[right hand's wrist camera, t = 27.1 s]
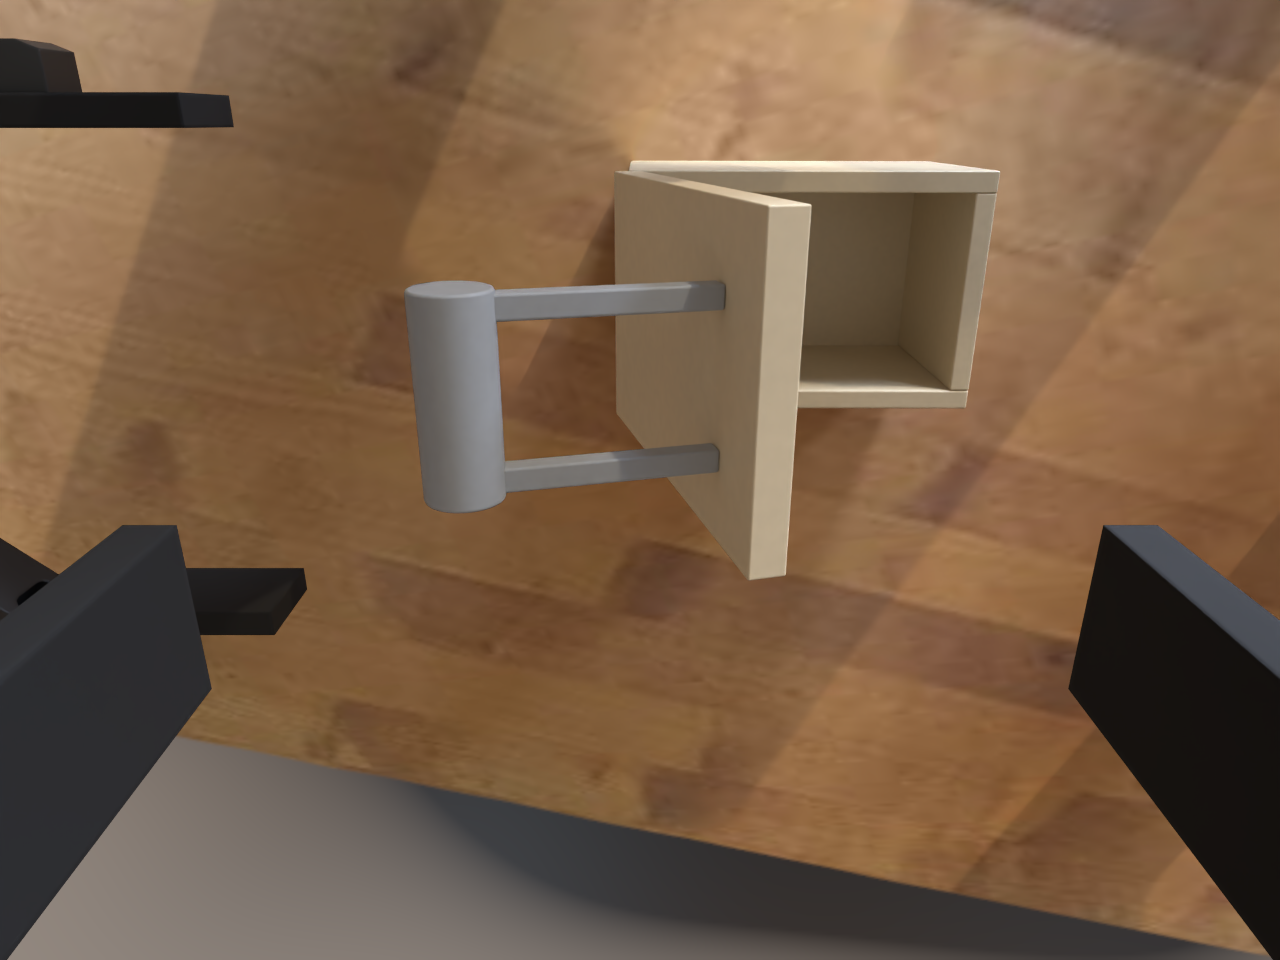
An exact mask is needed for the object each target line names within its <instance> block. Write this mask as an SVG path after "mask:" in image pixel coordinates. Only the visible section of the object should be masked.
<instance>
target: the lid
mask: <svg viewBox="0 0 1280 960" xmlns="http://www.w3.org/2000/svg"><path fill="white" fill-rule="evenodd" d="M614 205H615V285H595V286H571V287H548V288H525V289H501V290H495V289H494V287H493V286H492V285H489V284H486V283H482V282H475V281H437V282H428V283H421V284H417V285H413V286H410V287H408V288H406V289H405V292H404V298H405V309H406V319H407V329H408V340H409V350H410V360H411V371H412V381H413V391H414V402H415V412H416V422H417V432H418V443H419V453H420V463H421V474H422V484H423V494H424V501H425V502H426V504H427V505H428V506H429V507H430V508H432V509H434V510H437V511H441V512H447V513H471V512H477V511H482V510H486V509H489V508H492V507H494V506H496V505H498V504H500V503H501V502H502V501H503V500H504V499H505V497H506V494H507V493H509V492H520V491H530V490H540V489H551V488H561V487H571V486H582V485H592V484H602V483H612V482H623V481H633V480H643V479H654V478H664V477H667V478H668V480H669V481H670V482H671V483H672V485H673V486H674V487H675V488H676V490H677V491H678V492H679V493H680V495H681V496H682V497H683V499H684V500H685V501H686V502H687V504H688V505H689V506H690V507H691V509H692V510H693V511H694V513H695V514H696V515H697V516H698V518H699V519H700V520H701V521H702V523H703V524H704V525H705V527H706V528H707V529H708V530H709V532H710V533H711V534H712V535H713V537H714V538H715V539H716V540H717V542H718V543H719V544H720V546H721V547H722V548H723V549H724V551H725V552H726V553H727V554H728V556H729V557H730V558H731V560H732V561H733V562H734V563H735V565H736V566H737V567H738V568H739V570H740V571H741V572H742V574H743V575H744V576H745V577H746V579H747V580H757V579H765V578H773V577H781V576H785V574H786V561H787V546H788V532H789V518H790V504H791V490H792V476H793V462H794V447H795V433H796V419H797V405H798V391H799V377H800V363H801V348H802V334H803V320H804V306H805V292H806V278H807V264H808V249H809V235H810V221H811V205H810V204H807V203H802V202H797V201H792V200H787V199H782V198H776V197H771V196H766V195H761V194H756V193H751V192H746V191H741V190H735V189H730V188H725V187H720V186H715V185H710V184H705V183H700V182H694V181H689V180H684V179H679V178H674V177H669V176H664V175H659V174H654V173H648V172H643V171H615V172H614ZM601 316H615V320H616V413H617V415H618V416H619V417H620V419H621V420H622V421H623V422H624V424H625V425H626V426H627V427H628V429H629V430H630V431H631V432H632V434H633V435H634V436H635V438H636V439H637V440H638V441H639V443H640V444H641V445H642V446H643V448H644V449H638V450H626V451H615V452H604V453H593V454H581V455H570V456H559V457H548V458H536V459H525V460H514V461H505V454H504V438H503V421H502V404H501V387H500V370H499V353H498V336H497V322H504V321H523V320H543V319H562V318H581V317H601Z"/></svg>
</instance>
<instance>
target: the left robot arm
mask: <svg viewBox="0 0 1280 960" xmlns="http://www.w3.org/2000/svg"><path fill="white" fill-rule="evenodd" d="M206 127H234V126H233V119H232V113H231V107H230V100H229V96H226V95H210V94H195V93H179V92H82V89H81V84H80V79H79V75H78V70H77V65H76V61H75V56H74V52H71V51H69V50H66V49H64V48H61V47H59V46H56V45H54V44H51V43H44V42H36V41H29V40H21V39H0V128H206ZM186 572H187V576H188V581H189V586H190V590H191V595H192V600H193V604H194V609H195V614H196V618H197V623H198V628H199V632H200V635H275V634H276V632H277V631H278V629H279V628H280V627H281V625H282V624H283V622H284V621H285V620H286V618H287V617H288V615H289V614H290V613H291V611H292V610H293V608H294V607H295V606H296V604H297V603H298V601H299V600H300V598H301V597H302V596H303V594H304V593H305V591H306V590H307V586H306V580H305V573H304V568H186ZM58 575H59V574H57V573H55V572H54V571H52V570H51V569H49V568H47V567H46V566H44V565H43V564H41V563H39V562H38V561H36V560H35V559H33V558H31V557H30V556H28V555H27V554H25V553H23V552H22V551H20V550H18V549H17V548H15V547H14V546H12V545H10V544H9V543H7V542H6V541H4V540H2V539H1V538H0V620H2V619H3V618H4V617H6V616H7V615H8V614H9V613H11V612H12V611H13V610H14V609H16V608H17V607H18V606H20V605H21V604H22V603H23V602H25V601H26V600H27V599H29V598H30V597H31V596H32V595H34V594H35V593H36V592H38V591H39V590H40V589H41V588H43V587H44V586H45V585H47V584H48V583H49V582H50V581H52V580H53V579H54V578H56V577H57V576H58Z"/></svg>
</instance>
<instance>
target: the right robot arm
mask: <svg viewBox="0 0 1280 960" xmlns="http://www.w3.org/2000/svg"><path fill="white" fill-rule="evenodd" d="M211 689H212V688H211V684H210V679H209V674H208V670H207V665H206V660H205V656H204V651H203V646H202V642H201V637H200V632H199V628H198V623H197V618H196V614H195V609H194V604H193V600H192V595H191V590H190V586H189V581H188V576H187V572H186V567H185V562H184V558H183V553H182V548H181V544H180V539H179V534H178V530H177V525H122V526H121V527H120V528H118V529H117V530H116V531H115V532H113V533H112V534H111V535H109V536H108V537H107V538H106V539H104V540H103V541H102V542H100V543H99V544H98V545H97V546H95V547H94V548H93V549H91V550H90V551H89V552H88V553H86V554H85V555H84V556H82V557H81V558H80V559H79V560H77V561H76V562H75V563H74V564H72V565H71V566H70V567H68V568H67V569H66V570H65V571H63V572H62V573H61V574H59V575H58V576H57V577H56V578H54V579H53V580H52V581H50V582H49V583H48V584H47V585H45V586H44V587H43V588H41V589H40V590H39V591H38V592H36V593H35V594H34V595H32V596H31V597H30V598H29V599H27V600H26V601H25V602H23V603H22V604H21V605H20V606H18V607H17V608H16V609H14V610H13V611H12V612H11V613H9V614H8V615H7V616H6V617H4V618H3V619H2V620H0V960H7V959H8V958H9V956H10V955H11V954H12V952H13V951H14V950H15V948H16V947H17V946H18V944H19V943H20V942H21V940H22V939H23V938H24V936H25V935H26V934H27V932H28V931H29V930H30V929H31V927H32V926H33V925H34V923H35V922H36V921H37V919H38V918H39V917H40V915H41V914H42V913H43V911H44V910H45V909H46V907H47V906H48V905H49V903H50V902H51V901H52V899H53V898H54V897H55V895H56V894H57V893H58V891H59V890H60V889H61V887H62V886H63V885H64V884H65V882H66V881H67V880H68V878H69V877H70V876H71V874H72V873H73V872H74V870H75V869H76V868H77V866H78V865H79V864H80V862H81V861H82V860H83V858H84V857H85V856H86V854H87V853H88V852H89V850H90V849H91V848H92V846H93V845H94V844H95V842H96V841H97V840H98V839H99V837H100V836H101V835H102V833H103V832H104V831H105V829H106V828H107V827H108V825H109V824H110V823H111V821H112V820H113V819H114V817H115V816H116V815H117V813H118V812H119V811H120V809H121V808H122V807H123V805H124V804H125V803H126V801H127V800H128V799H129V797H130V796H131V795H132V793H133V792H134V791H135V790H136V788H137V787H138V786H139V784H140V783H141V782H142V780H143V779H144V778H145V776H146V775H147V774H148V772H149V771H150V770H151V768H152V767H153V766H154V764H155V763H156V762H157V760H158V759H159V758H160V756H161V755H162V754H163V752H164V751H165V750H166V748H167V747H168V746H169V745H170V743H171V742H172V740H173V739H174V738H175V737H176V735H177V734H178V733H179V731H180V730H181V729H182V727H183V726H184V725H185V723H186V722H187V721H188V719H189V718H190V717H191V715H192V714H193V713H194V711H195V710H196V709H197V707H198V706H199V705H200V704H201V702H202V701H203V700H204V698H205V697H206V696H207V694H208V693H209V692H210V690H211ZM1068 689H1069V690H1070V692H1071V693H1072V694H1073V696H1074V697H1075V698H1076V700H1077V701H1078V702H1079V704H1080V705H1081V706H1082V708H1083V709H1084V710H1085V711H1086V713H1087V714H1088V715H1089V717H1090V718H1091V719H1092V721H1093V722H1094V723H1095V725H1096V726H1097V727H1098V729H1099V730H1100V731H1101V733H1102V734H1103V735H1104V737H1105V738H1106V739H1107V741H1108V742H1109V743H1110V745H1111V746H1112V747H1113V749H1114V750H1115V751H1116V753H1117V754H1118V755H1119V756H1120V758H1121V759H1122V760H1123V762H1124V763H1125V764H1126V766H1127V767H1128V768H1129V770H1130V771H1131V772H1132V774H1133V775H1134V776H1135V778H1136V779H1137V780H1138V782H1139V783H1140V784H1141V786H1142V787H1143V788H1144V790H1145V791H1146V792H1147V794H1148V795H1149V796H1150V797H1151V799H1152V800H1153V801H1154V803H1155V804H1156V805H1157V807H1158V808H1159V809H1160V811H1161V812H1162V813H1163V815H1164V816H1165V817H1166V819H1167V820H1168V821H1169V823H1170V824H1171V825H1172V827H1173V828H1174V829H1175V831H1176V832H1177V833H1178V835H1179V836H1180V837H1181V839H1182V840H1183V841H1184V842H1185V844H1186V845H1187V846H1188V848H1189V849H1190V850H1191V852H1192V853H1193V854H1194V856H1195V857H1196V858H1197V860H1198V861H1199V862H1200V864H1201V865H1202V866H1203V868H1204V869H1205V870H1206V872H1207V873H1208V874H1209V876H1210V877H1211V878H1212V880H1213V881H1214V882H1215V884H1216V885H1217V886H1218V887H1219V889H1220V890H1221V891H1222V893H1223V894H1224V895H1225V897H1226V898H1227V899H1228V901H1229V902H1230V903H1231V905H1232V906H1233V907H1234V909H1235V910H1236V911H1237V913H1238V914H1239V915H1240V917H1241V918H1242V919H1243V921H1244V922H1245V923H1246V925H1247V926H1248V927H1249V929H1250V930H1251V931H1252V932H1253V934H1254V935H1255V936H1256V938H1257V939H1258V940H1259V942H1260V943H1261V944H1262V946H1263V947H1264V948H1265V950H1266V951H1267V952H1268V954H1269V955H1270V956H1271V958H1272V959H1273V960H1280V620H1278V619H1277V618H1276V617H1274V616H1273V615H1272V614H1271V613H1269V612H1268V611H1267V610H1266V609H1264V608H1263V607H1262V606H1260V605H1259V604H1258V603H1257V602H1255V601H1254V600H1253V599H1251V598H1250V597H1249V596H1248V595H1246V594H1245V593H1244V592H1242V591H1241V590H1240V589H1239V588H1237V587H1236V586H1235V585H1233V584H1232V583H1231V582H1230V581H1228V580H1227V579H1226V578H1224V577H1223V576H1222V575H1221V574H1219V573H1218V572H1217V571H1215V570H1214V569H1213V568H1212V567H1210V566H1209V565H1208V564H1206V563H1205V562H1204V561H1203V560H1201V559H1200V558H1199V557H1198V556H1196V555H1195V554H1194V553H1192V552H1191V551H1190V550H1189V549H1187V548H1186V547H1185V546H1183V545H1182V544H1181V543H1180V542H1178V541H1177V540H1176V539H1174V538H1173V537H1172V536H1171V535H1169V534H1168V533H1167V532H1165V531H1164V530H1163V529H1162V528H1160V527H1159V526H1158V525H1103V530H1102V534H1101V539H1100V544H1099V548H1098V553H1097V558H1096V562H1095V567H1094V572H1093V576H1092V581H1091V586H1090V590H1089V595H1088V600H1087V604H1086V609H1085V614H1084V618H1083V623H1082V628H1081V632H1080V637H1079V642H1078V646H1077V651H1076V656H1075V660H1074V665H1073V670H1072V674H1071V679H1070V684H1069V688H1068Z"/></svg>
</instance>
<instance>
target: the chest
mask: <svg viewBox="0 0 1280 960" xmlns="http://www.w3.org/2000/svg"><path fill="white" fill-rule="evenodd" d="M629 171H643V172H648V173H654V174H659V175H664V176H669V177H674V178H679V179H684V180H689V181H694V182H700V183H705V184H710V185H715V186H720V187H725V188H730V189H735V190H741V191H746V192H751V193H756V194H761V195H766V196H771V197H776V198H782V199H787V200H792V201H797V202H802V203H807V204H810V205H811V221H810V235H809V249H808V264H807V278H806V292H805V306H804V320H803V334H802V348H801V363H800V377H799V391H798V405H797V408H965V407H966V402H967V395H968V391H967V390H968V389H969V382H970V375H971V368H972V361H973V355H974V348H975V341H976V334H977V327H978V320H979V313H980V306H981V299H982V292H983V285H984V279H985V272H986V265H987V258H988V251H989V244H990V237H991V230H992V223H993V216H994V209H995V202H996V196H997V195H996V193H997V190H998V183H999V176H1000V171H996V170H988V169H981V168H974V167H967V166H959V165H952V164H945V163H937V162H930V161H631V163H630V167H629Z"/></svg>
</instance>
